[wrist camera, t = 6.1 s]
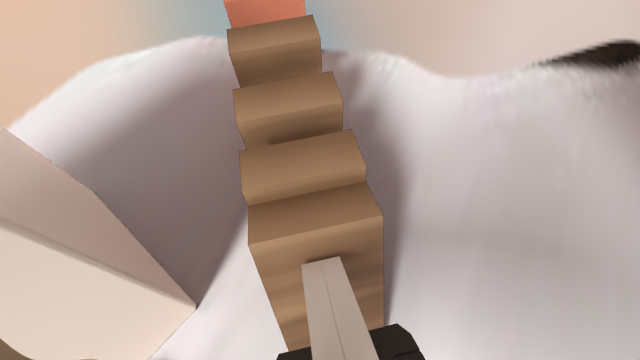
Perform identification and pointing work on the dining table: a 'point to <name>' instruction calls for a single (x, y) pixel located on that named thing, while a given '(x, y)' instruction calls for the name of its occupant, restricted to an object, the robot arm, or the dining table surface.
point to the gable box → (74, 270)
